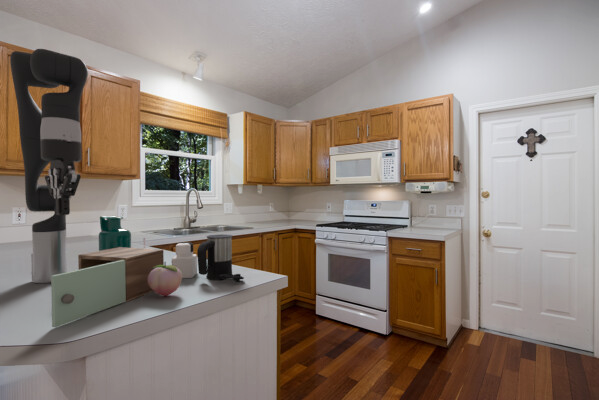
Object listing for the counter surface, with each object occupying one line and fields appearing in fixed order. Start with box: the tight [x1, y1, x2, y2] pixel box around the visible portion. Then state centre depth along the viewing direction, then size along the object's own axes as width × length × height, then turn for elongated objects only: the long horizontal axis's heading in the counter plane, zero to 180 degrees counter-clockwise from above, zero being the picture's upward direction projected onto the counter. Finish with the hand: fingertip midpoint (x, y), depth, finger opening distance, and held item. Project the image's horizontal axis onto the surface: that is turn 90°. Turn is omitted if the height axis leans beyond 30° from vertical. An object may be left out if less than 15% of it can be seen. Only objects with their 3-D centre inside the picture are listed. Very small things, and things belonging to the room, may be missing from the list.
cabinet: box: [77, 247, 165, 303], centre depth 94 cm, size 18×14×12 cm
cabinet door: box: [50, 260, 126, 328], centre depth 75 cm, size 18×2×11 cm, turn 160°
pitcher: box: [98, 215, 132, 251], centre depth 111 cm, size 10×8×22 cm
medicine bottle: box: [171, 241, 198, 279], centre depth 112 cm, size 7×7×12 cm
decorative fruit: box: [147, 261, 183, 297], centre depth 89 cm, size 9×8×10 cm
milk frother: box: [196, 234, 245, 283], centre depth 107 cm, size 14×16×15 cm
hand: (62, 214), depth 72 cm, fingers closed
